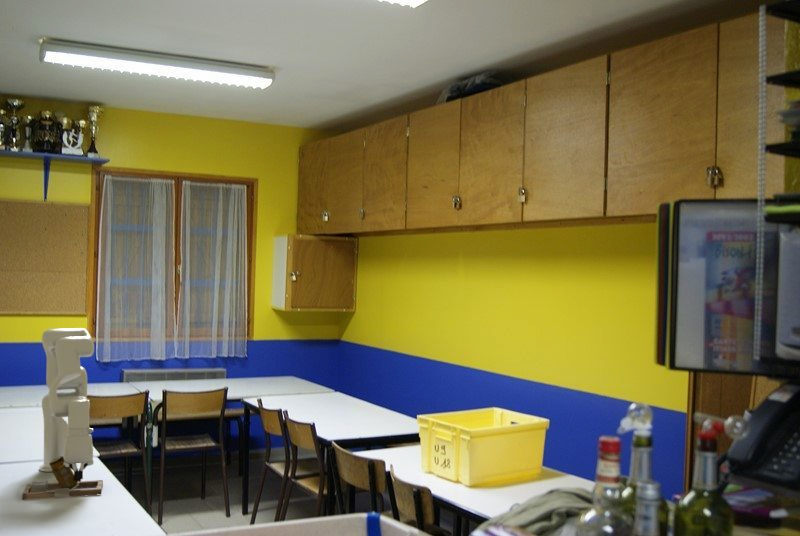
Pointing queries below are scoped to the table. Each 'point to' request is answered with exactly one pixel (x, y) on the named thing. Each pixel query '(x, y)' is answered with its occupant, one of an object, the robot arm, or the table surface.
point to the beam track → (60, 490)
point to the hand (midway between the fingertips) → (78, 481)
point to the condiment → (63, 474)
